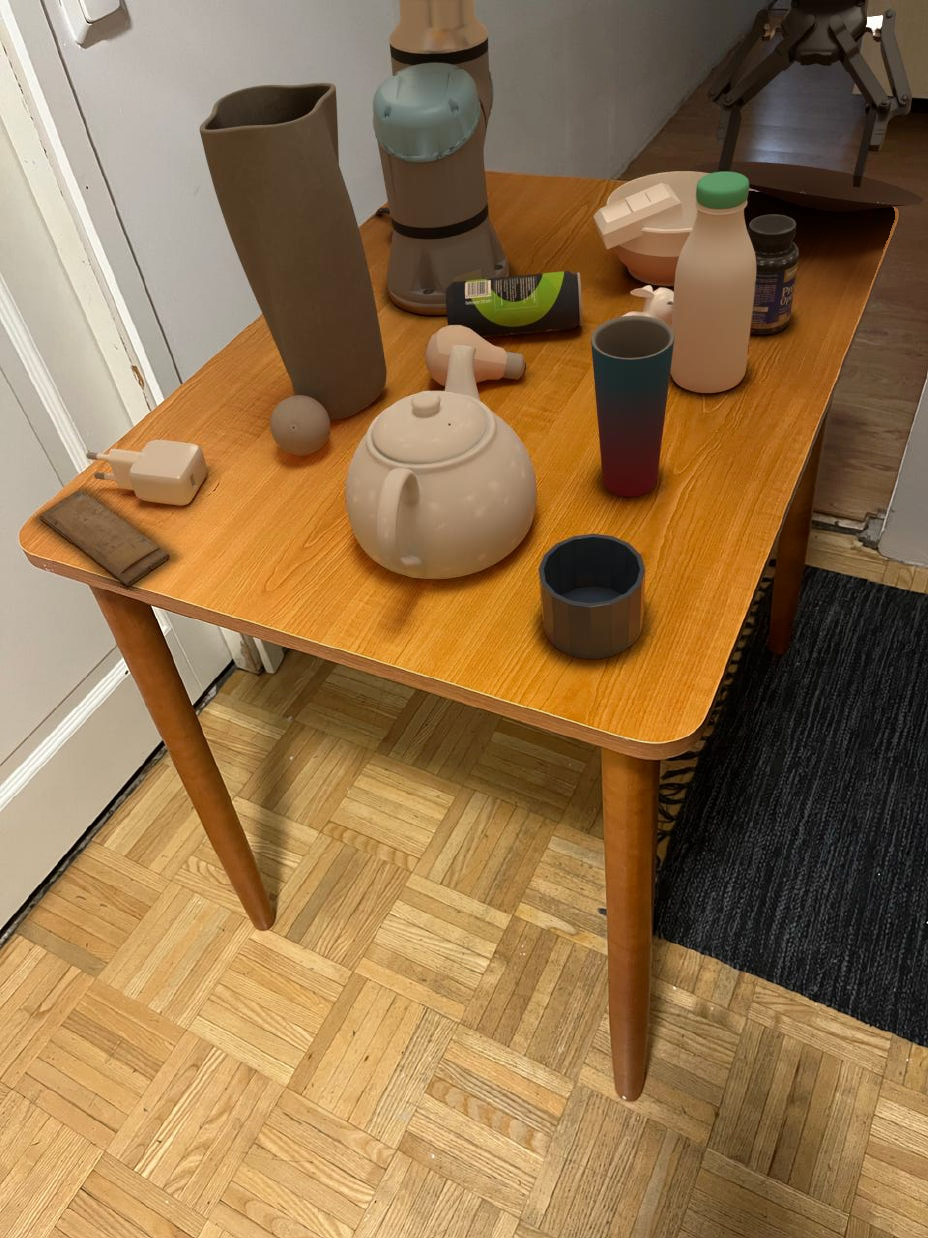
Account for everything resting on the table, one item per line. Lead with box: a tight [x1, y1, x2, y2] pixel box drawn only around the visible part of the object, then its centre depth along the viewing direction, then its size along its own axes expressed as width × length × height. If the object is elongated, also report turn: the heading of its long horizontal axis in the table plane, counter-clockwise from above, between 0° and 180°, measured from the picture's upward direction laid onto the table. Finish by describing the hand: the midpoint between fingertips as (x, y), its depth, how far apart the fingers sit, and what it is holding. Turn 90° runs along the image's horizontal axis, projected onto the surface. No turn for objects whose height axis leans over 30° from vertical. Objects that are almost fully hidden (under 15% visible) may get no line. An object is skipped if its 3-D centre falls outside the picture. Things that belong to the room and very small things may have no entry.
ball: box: [269, 394, 331, 457], centre depth 96 cm, size 6×6×6 cm
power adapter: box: [85, 438, 208, 506], centre depth 95 cm, size 11×5×6 cm
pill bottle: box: [747, 213, 800, 336], centre depth 101 cm, size 6×6×11 cm
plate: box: [691, 161, 924, 213], centre depth 118 cm, size 28×28×4 cm
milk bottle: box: [670, 172, 756, 394], centre depth 92 cm, size 8×8×20 cm
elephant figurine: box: [621, 284, 674, 328], centre depth 101 cm, size 7×12×6 cm
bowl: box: [605, 170, 710, 287], centre depth 113 cm, size 16×16×8 cm
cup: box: [590, 315, 675, 498], centre depth 83 cm, size 7×7×15 cm
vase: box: [198, 82, 388, 422], centre depth 93 cm, size 12×12×30 cm
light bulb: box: [424, 325, 527, 387], centre depth 101 cm, size 7×7×11 cm
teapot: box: [344, 345, 538, 580], centre depth 82 cm, size 19×18×14 cm
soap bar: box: [592, 183, 684, 250], centre depth 107 cm, size 5×9×3 cm, turn 97°
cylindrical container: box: [538, 533, 646, 660], centre depth 75 cm, size 8×8×6 cm
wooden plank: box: [39, 489, 171, 587], centre depth 91 cm, size 17×1×5 cm
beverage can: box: [446, 270, 583, 338], centre depth 107 cm, size 6×6×15 cm
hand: (788, 178), depth 99 cm, fingers open, 13 cm apart
